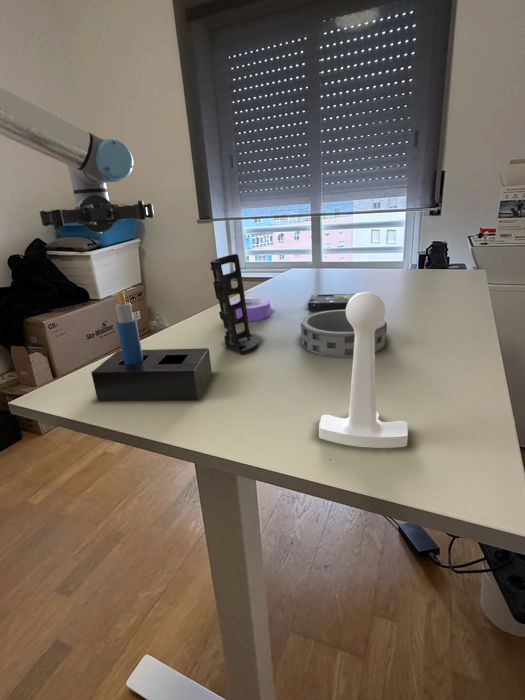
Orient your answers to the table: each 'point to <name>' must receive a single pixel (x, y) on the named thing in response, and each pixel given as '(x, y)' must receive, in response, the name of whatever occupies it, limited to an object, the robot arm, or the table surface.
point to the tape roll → (255, 308)
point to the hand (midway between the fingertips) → (102, 214)
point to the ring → (334, 334)
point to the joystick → (364, 386)
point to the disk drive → (329, 302)
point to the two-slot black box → (154, 376)
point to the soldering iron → (128, 333)
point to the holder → (229, 311)
